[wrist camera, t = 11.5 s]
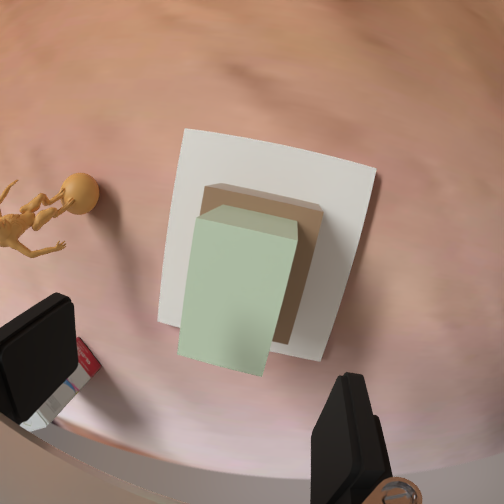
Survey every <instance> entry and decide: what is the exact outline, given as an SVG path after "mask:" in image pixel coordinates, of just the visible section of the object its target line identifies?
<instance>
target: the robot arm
mask: <svg viewBox="0 0 504 504" xmlns="http://www.w3.org/2000/svg"><path fill="white" fill-rule="evenodd" d="M78 363H79V360H78V351H77V341H76V330H75V315H74V305H73V303H72V302H71V299H70V298H69V297H68V296H65V295H62V294H60V293H54V294H52V295H50V296H49V297H47V298H45V299H44V300H42V301H41V302H39V303H38V304H36V305H34V306H33V307H31V308H30V309H28V310H27V311H25V312H23V313H22V314H20V315H19V316H17V317H16V318H14V319H13V320H11V321H10V322H8V323H7V324H5V325H4V326H2V327H1V328H0V504H188V503H185V502H182V501H179V500H175V499H172V498H169V497H166V496H163V495H160V494H157V493H154V492H151V491H149V490H146V489H144V488H141V487H138V486H136V485H133V484H131V483H128V482H126V481H123V480H121V479H118V478H116V477H114V476H111V475H109V474H107V473H105V472H102V471H100V470H98V469H96V468H94V467H92V466H90V465H88V464H86V463H84V462H82V461H80V460H78V459H76V458H74V457H72V456H70V455H68V454H66V453H64V452H62V451H61V450H59V449H57V448H55V447H54V446H52V445H50V444H48V443H47V442H45V441H43V440H42V439H40V438H38V437H37V436H35V435H33V434H32V433H30V432H29V431H27V430H26V429H24V428H22V427H21V426H19V425H20V424H21V423H22V422H26V421H27V420H29V419H30V417H31V416H32V415H33V414H34V413H35V412H36V411H37V410H38V409H39V408H40V407H41V406H42V405H43V404H44V403H45V401H46V400H47V399H48V398H49V397H50V396H51V395H52V394H53V393H54V392H55V391H56V390H57V389H58V388H59V387H60V386H61V385H62V384H63V383H64V382H65V381H66V380H67V378H68V377H69V376H70V375H71V374H72V373H73V372H74V371H75V370H76V369H77V367H78ZM310 502H311V503H310V504H422V495H421V492H420V490H419V488H418V487H417V486H416V485H415V484H414V483H413V482H411V481H409V480H407V479H405V478H400V477H393V475H392V471H391V466H390V462H389V457H388V453H387V448H386V444H385V440H384V436H383V431H382V427H381V423H380V420H379V417H378V416H377V415H373V412H372V408H371V404H370V400H369V396H368V392H367V388H366V384H365V380H364V377H363V375H361V374H355V373H349V372H346V373H345V374H344V375H343V376H340V375H339V376H338V377H337V379H336V382H335V384H334V386H333V388H332V391H331V393H330V395H329V397H328V400H327V402H326V404H325V406H324V408H323V410H322V413H321V415H320V417H319V419H318V421H317V423H316V425H315V427H314V429H313V432H312V436H311V500H310Z"/></svg>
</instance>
